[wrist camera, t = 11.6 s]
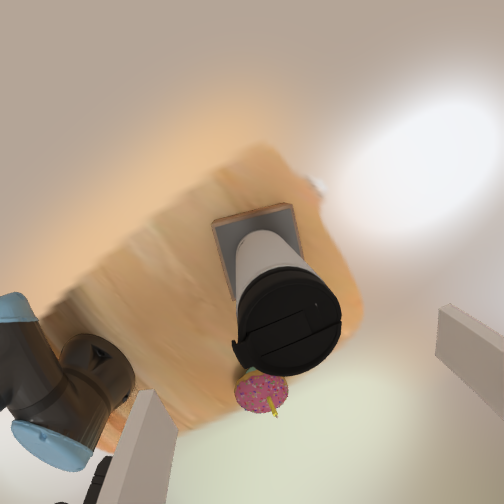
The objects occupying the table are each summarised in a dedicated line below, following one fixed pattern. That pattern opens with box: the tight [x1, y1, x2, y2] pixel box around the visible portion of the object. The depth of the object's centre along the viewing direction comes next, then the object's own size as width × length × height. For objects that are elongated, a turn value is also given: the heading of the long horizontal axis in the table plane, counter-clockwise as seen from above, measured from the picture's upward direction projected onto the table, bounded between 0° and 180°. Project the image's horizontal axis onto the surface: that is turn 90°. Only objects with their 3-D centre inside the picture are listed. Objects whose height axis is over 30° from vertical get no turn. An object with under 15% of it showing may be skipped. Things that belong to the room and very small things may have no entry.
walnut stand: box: [211, 203, 304, 301], centre depth 37 cm, size 10×10×6 cm
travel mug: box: [232, 229, 342, 377], centre depth 24 cm, size 6×7×20 cm
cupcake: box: [234, 367, 288, 418], centre depth 39 cm, size 9×8×12 cm
